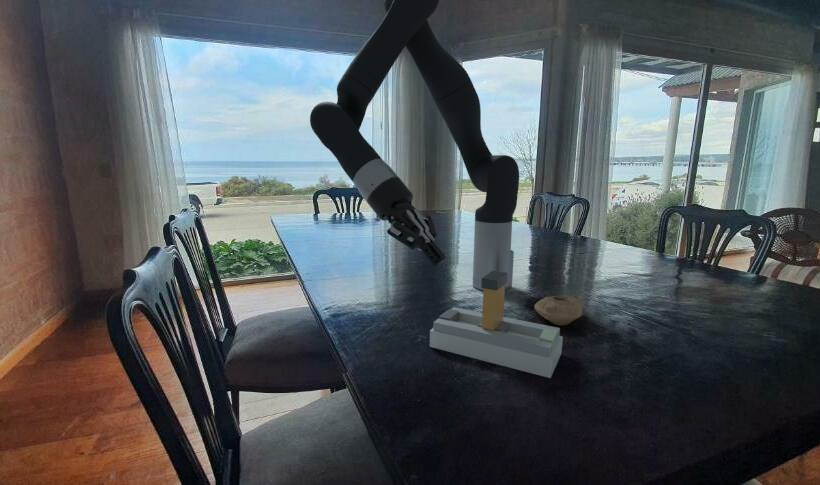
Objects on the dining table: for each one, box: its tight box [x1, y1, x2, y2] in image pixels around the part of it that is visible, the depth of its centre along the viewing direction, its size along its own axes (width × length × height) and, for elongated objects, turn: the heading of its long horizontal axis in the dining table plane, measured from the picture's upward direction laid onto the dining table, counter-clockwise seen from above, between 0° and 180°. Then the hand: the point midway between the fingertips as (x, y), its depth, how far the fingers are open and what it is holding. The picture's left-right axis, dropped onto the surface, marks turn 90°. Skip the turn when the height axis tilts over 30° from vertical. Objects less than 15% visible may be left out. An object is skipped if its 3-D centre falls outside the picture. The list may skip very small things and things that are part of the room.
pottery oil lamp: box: [534, 294, 586, 326], centre depth 79 cm, size 9×12×7 cm
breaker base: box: [429, 306, 564, 379], centre depth 66 cm, size 20×9×5 cm, turn 60°
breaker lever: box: [478, 271, 508, 333], centre depth 65 cm, size 4×5×10 cm
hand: (440, 262), depth 69 cm, fingers closed
